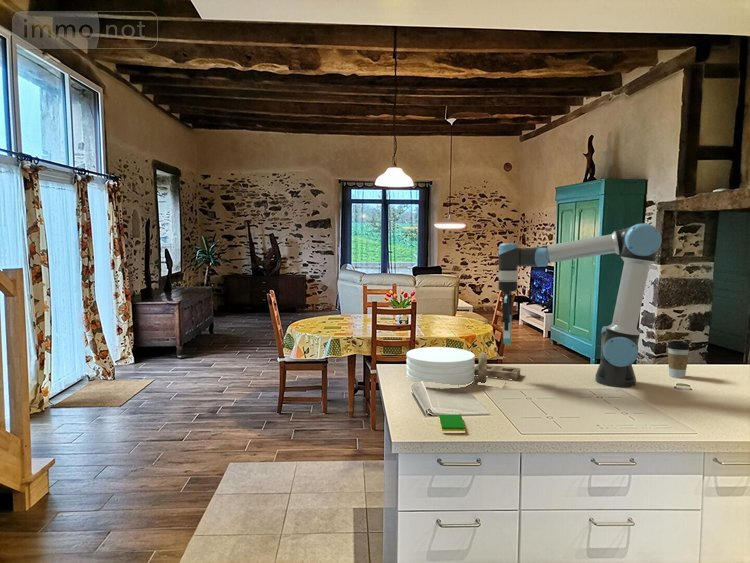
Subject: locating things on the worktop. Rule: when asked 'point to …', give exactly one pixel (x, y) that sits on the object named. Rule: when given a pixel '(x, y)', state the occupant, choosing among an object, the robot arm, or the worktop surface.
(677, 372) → the coffee cup
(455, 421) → the dish sponge
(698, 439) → the worktop surface
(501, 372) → the walnut block
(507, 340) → the teal dowel
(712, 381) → the worktop surface
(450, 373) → the plate stack
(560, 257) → the robot arm
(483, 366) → the oak dowel
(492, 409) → the worktop surface
